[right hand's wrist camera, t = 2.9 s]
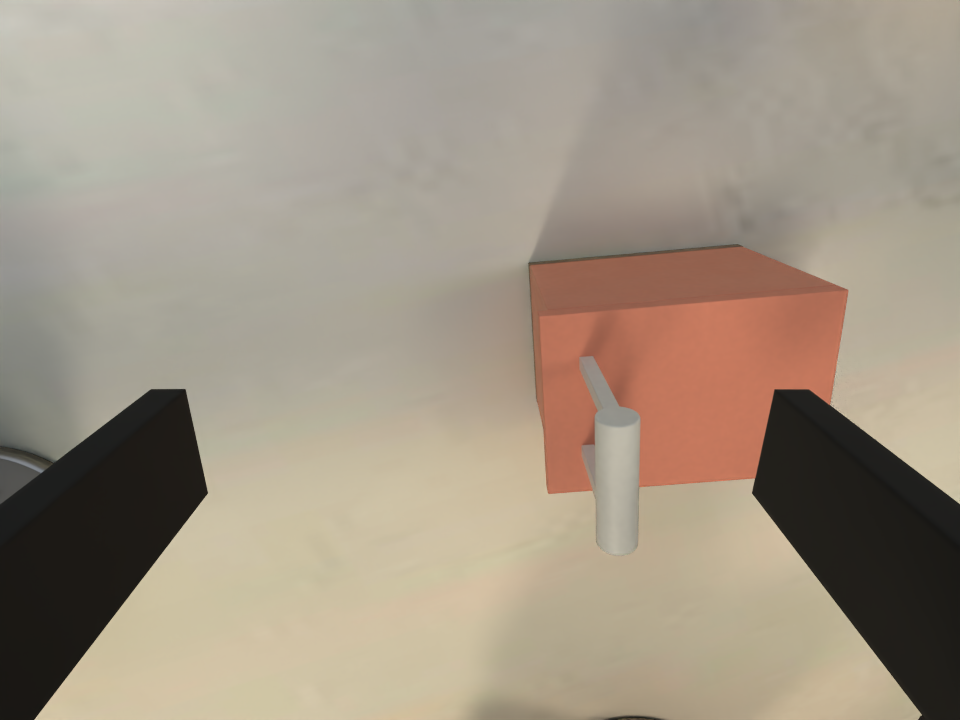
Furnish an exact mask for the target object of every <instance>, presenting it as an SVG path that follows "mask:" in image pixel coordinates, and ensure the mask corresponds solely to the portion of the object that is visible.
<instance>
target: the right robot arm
mask: <svg viewBox="0 0 960 720" xmlns="http://www.w3.org/2000/svg"><path fill="white" fill-rule="evenodd" d="M207 494H208V491H207V486H206V482H205V477H204V473H203V468H202V463H201V459H200V454H199V450H198V445H197V440H196V436H195V431H194V426H193V422H192V417H191V413H190V408H189V403H188V399H187V394H186V389H151V390H149V391H148V392H147V393H145V394H144V395H143V396H142V397H140V398H139V399H138V400H136V401H135V402H134V403H132V404H131V405H130V406H128V407H127V408H126V409H124V410H123V411H122V412H121V413H119V414H118V415H117V416H115V417H114V418H113V419H111V420H110V421H109V422H107V423H106V424H105V425H104V426H102V427H101V428H100V429H98V430H97V431H96V432H94V433H93V434H92V435H90V436H89V437H88V438H86V439H85V440H84V441H83V442H81V443H80V444H79V445H77V446H76V447H75V448H73V449H72V450H71V451H69V452H68V453H67V454H65V455H64V456H63V457H62V458H60V459H59V460H58V461H56V462H55V463H52V462H50V461H47V460H45V459H43V458H41V457H38V456H36V455H33V454H30V453H27V452H24V451H20V450H16V449H12V448H6V447H0V720H34V719H35V718H36V717H37V715H38V714H39V713H40V711H41V710H42V709H43V708H44V706H45V705H46V704H47V702H48V701H49V700H50V698H51V697H52V696H53V694H54V693H55V692H56V691H57V689H58V688H59V687H60V685H61V684H62V683H63V681H64V680H65V679H66V678H67V676H68V675H69V674H70V672H71V671H72V670H73V668H74V667H75V666H76V664H77V663H78V662H79V661H80V659H81V658H82V657H83V655H84V654H85V653H86V651H87V650H88V649H89V648H90V646H91V645H92V644H93V642H94V641H95V640H96V638H97V637H98V636H99V635H100V633H101V632H102V631H103V629H104V628H105V627H106V625H107V624H108V623H109V621H110V620H111V619H112V618H113V616H114V615H115V614H116V612H117V611H118V610H119V608H120V607H121V606H122V605H123V603H124V602H125V601H126V599H127V598H128V597H129V595H130V594H131V593H132V592H133V590H134V589H135V588H136V586H137V585H138V584H139V582H140V581H141V580H142V578H143V577H144V576H145V575H146V573H147V572H148V571H149V569H150V568H151V567H152V565H153V564H154V563H155V562H156V560H157V559H158V558H159V556H160V555H161V554H162V552H163V551H164V550H165V548H166V547H167V546H168V545H169V543H170V542H171V541H172V539H173V538H174V537H175V535H176V534H177V533H178V532H179V530H180V529H181V528H182V526H183V525H184V524H185V522H186V521H187V520H188V519H189V517H190V516H191V515H192V513H193V512H194V511H195V509H196V508H197V507H198V505H199V504H200V503H201V502H202V500H203V499H204V498H205V496H206V495H207ZM752 494H753V495H754V496H755V498H756V499H757V500H758V502H759V503H760V504H761V505H762V507H763V508H764V509H765V511H766V512H767V513H768V515H769V516H770V517H771V519H772V520H773V521H774V522H775V524H776V525H777V526H778V528H779V529H780V530H781V532H782V533H783V534H784V535H785V537H786V538H787V539H788V541H789V542H790V543H791V545H792V546H793V547H794V548H795V550H796V551H797V552H798V554H799V555H800V556H801V558H802V559H803V560H804V562H805V563H806V564H807V565H808V567H809V568H810V569H811V571H812V572H813V573H814V575H815V576H816V577H817V578H818V580H819V581H820V582H821V584H822V585H823V586H824V588H825V589H826V590H827V592H828V593H829V594H830V595H831V597H832V598H833V599H834V601H835V602H836V603H837V605H838V606H839V607H840V608H841V610H842V611H843V612H844V614H845V615H846V616H847V618H848V619H849V620H850V621H851V623H852V624H853V625H854V627H855V628H856V629H857V631H858V632H859V633H860V635H861V636H862V637H863V638H864V640H865V641H866V642H867V644H868V645H869V646H870V648H871V649H872V650H873V651H874V653H875V654H876V655H877V657H878V658H879V659H880V661H881V662H882V663H883V664H884V666H885V667H886V668H887V670H888V671H889V672H890V674H891V675H892V676H893V678H894V679H895V680H896V681H897V683H898V684H899V685H900V687H901V688H902V689H903V691H904V692H905V693H906V694H907V696H908V697H909V698H910V700H911V701H912V702H913V704H914V705H915V706H916V708H917V709H918V710H919V711H920V713H921V714H922V715H923V717H924V718H925V719H926V720H960V504H959V503H958V502H956V501H955V500H954V499H952V498H951V497H950V496H948V495H947V494H946V493H944V492H943V491H942V490H940V489H939V488H938V487H937V486H935V485H934V484H933V483H931V482H930V481H929V480H927V479H926V478H925V477H923V476H922V475H921V474H919V473H918V472H917V471H916V470H914V469H913V468H912V467H910V466H909V465H908V464H906V463H905V462H904V461H902V460H901V459H900V458H898V457H897V456H896V455H895V454H893V453H892V452H891V451H889V450H888V449H887V448H885V447H884V446H883V445H881V444H880V443H879V442H877V441H876V440H875V439H874V438H872V437H871V436H870V435H868V434H867V433H866V432H864V431H863V430H862V429H860V428H859V427H858V426H856V425H855V424H854V423H853V422H851V421H850V420H849V419H847V418H846V417H845V416H843V415H842V414H841V413H839V412H838V411H837V410H836V409H834V408H833V407H832V406H830V405H829V404H828V403H826V402H825V401H824V400H822V399H821V398H820V397H818V396H817V395H816V394H815V393H813V392H812V391H811V390H809V389H774V394H773V399H772V403H771V408H770V413H769V417H768V422H767V426H766V431H765V436H764V440H763V445H762V450H761V454H760V459H759V463H758V468H757V473H756V477H755V482H754V486H753V491H752Z"/></svg>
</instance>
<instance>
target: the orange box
mask: <svg viewBox="0 0 960 720" xmlns="http://www.w3.org/2000/svg"><path fill="white" fill-rule="evenodd" d="M847 296H848V290H847V289H844V288H842V287H840V286H826V287H814V288H803V289H791V290H779V291H768V292H756V293H744V294H733V295H721V296H709V297H698V298H686V299H674V300H663V301H651V302H639V303H628V304H616V305H604V306H592V307H581V308H569V309H557V310H546V311H538V312H537V315H538V334H539V353H540V372H541V391H542V410H543V429H544V448H545V467H546V485H547V490H548V493H549V494H552V493H566V492H579V491H592V490H593V492H594V496H595V499H596V542H597V544H598V546H599V548H600V549H601V550H603V551H604V552H606V553H608V554H611V555H615V556H623V555H628V554H630V553H632V552H633V551H635V549H636V548H637V546H638V515H639V487H645V486H659V485H672V484H685V483H699V482H712V481H725V480H738V479H752V478H755V477H756V473H757V468H758V463H759V459H760V454H761V450H762V445H763V440H764V436H765V431H766V426H767V422H768V417H769V413H770V408H771V403H772V399H773V394H774V389H809V390H811V391H812V392H813V393H815V394H816V395H817V396H818V397H820V398H821V399H822V400H824V401H825V402H826V403H828V404H829V405H830V402H831V395H832V389H833V383H834V377H835V371H836V364H837V358H838V352H839V346H840V340H841V333H842V327H843V321H844V315H845V309H846V302H847Z"/></svg>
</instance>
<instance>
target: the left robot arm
mask: <svg viewBox="0 0 960 720" xmlns="http://www.w3.org/2000/svg"><path fill="white" fill-rule="evenodd" d="M616 720H652V719H645V718H625V719H616ZM918 720H926V719H925V718H924V717H923V715H922V716H920V718H919V719H918Z"/></svg>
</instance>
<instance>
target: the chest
mask: <svg viewBox="0 0 960 720" xmlns="http://www.w3.org/2000/svg"><path fill="white" fill-rule="evenodd" d="M529 279H530V297H531V315H532V332H533V350H534V367H535V385H536V399H537V402H538V407H539V411H540V416H541V420H542V425H543V410H542V391H541V372H540V353H539V334H538V315H537V312H538V311H546V310H557V309H569V308H581V307H592V306H604V305H616V304H628V303H639V302H651V301H663V300H674V299H686V298H698V297H709V296H721V295H733V294H744V293H756V292H768V291H779V290H791V289H803V288H814V287H826V286H836V285H835V284H832V283H830V282H827V281H825V280H823V279H820V278H818V277H815V276H813V275H810V274H808V273H805V272H803V271H801V270H798V269H796V268H793V267H791V266H788V265H786V264H783V263H781V262H779V261H776V260H774V259H771V258H769V257H766V256H764V255H761V254H759V253H757V252H754V251H752V250H749V249H747V248H744V247H743V246H741V245H738V244H736V245H725V246H713V247H702V248H691V249H679V250H668V251H657V252H645V253H634V254H623V255H612V256H600V257H589V258H578V259H566V260H555V261H544V262H532V263H529Z"/></svg>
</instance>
